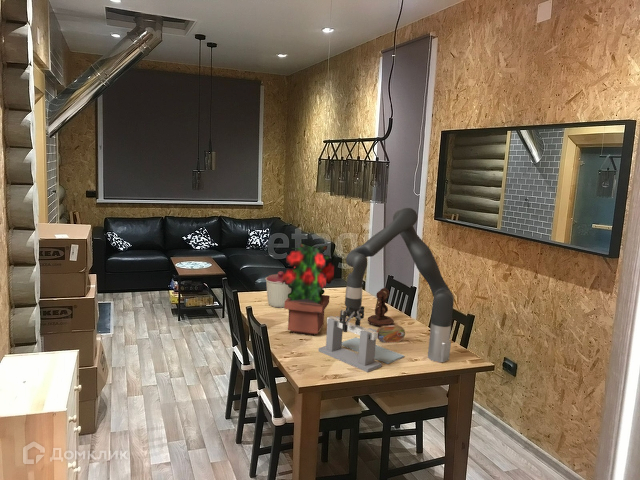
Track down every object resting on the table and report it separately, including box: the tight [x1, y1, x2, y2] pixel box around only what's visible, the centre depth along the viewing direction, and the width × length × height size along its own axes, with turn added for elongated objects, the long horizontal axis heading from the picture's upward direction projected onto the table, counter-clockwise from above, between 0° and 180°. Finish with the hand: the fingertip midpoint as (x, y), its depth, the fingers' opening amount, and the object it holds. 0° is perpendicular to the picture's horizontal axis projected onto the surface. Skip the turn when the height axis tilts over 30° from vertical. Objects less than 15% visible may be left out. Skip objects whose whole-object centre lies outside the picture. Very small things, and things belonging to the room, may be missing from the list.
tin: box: [376, 324, 406, 344], centre depth 264 cm, size 15×3×8 cm, turn 105°
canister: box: [265, 271, 291, 308], centre depth 312 cm, size 18×18×21 cm
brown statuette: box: [367, 287, 395, 327], centre depth 289 cm, size 15×15×20 cm
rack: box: [318, 315, 383, 373], centre depth 238 cm, size 30×10×16 cm, turn 46°
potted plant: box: [282, 243, 335, 337], centre depth 269 cm, size 22×22×45 cm
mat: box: [341, 336, 405, 365], centre depth 250 cm, size 30×13×1 cm, turn 46°
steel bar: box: [326, 315, 378, 341], centre depth 237 cm, size 28×3×3 cm, turn 46°
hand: (351, 329), depth 237 cm, fingers open, 8 cm apart
